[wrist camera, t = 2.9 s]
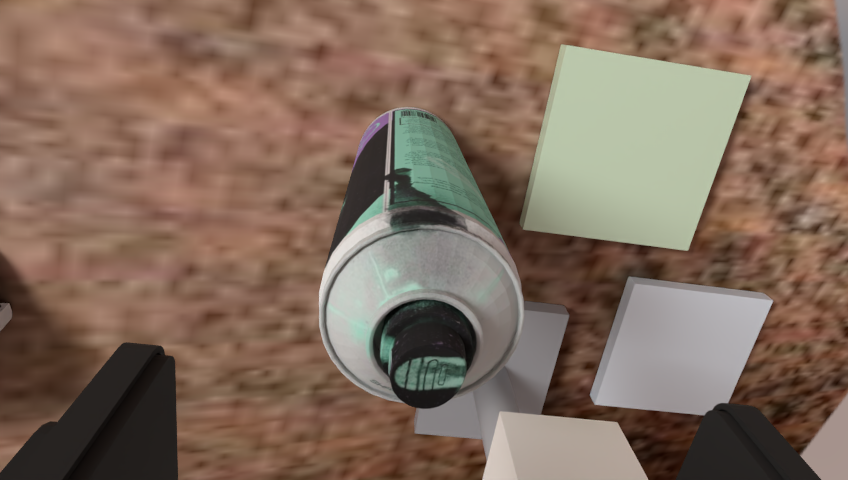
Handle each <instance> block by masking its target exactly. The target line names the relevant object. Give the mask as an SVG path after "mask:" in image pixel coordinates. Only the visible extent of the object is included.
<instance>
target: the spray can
mask: <svg viewBox="0 0 848 480" xmlns="http://www.w3.org/2000/svg"><path fill="white" fill-rule="evenodd" d="M524 316H525V314H524V299H523V295H522V291H521V282H520V278H519V275H518V272H517V268H516V265H515V263H514V261H513V259H512V257H511V255H510V253H509V251H508V249H507V246H506V244H505V242H504V240H503V238H502V236H501V234H500V232H499V230H498V228H497V226H496V224H495V221H494V219H493V217H492V215H491V213H490V211H489V209H488V207H487V205H486V203H485V201H484V198H483V196H482V194H481V192H480V190H479V188H478V186H477V184H476V182H475V180H474V178H473V175H472V173H471V171H470V169H469V167H468V165H467V163H466V161H465V159H464V157H463V155H462V152H461V150H460V148H459V146H458V144H457V142H456V140H455V138H454V136H453V134H452V132H451V131H450V129H449V128H448V127H447V125H446V124H445V123H444V122H443V121H442V120H441V119H440V118H438V117H437V116H436V115H434V114H432V113H430V112H428V111H426V110H423V109H419V108H415V107H402V108H396V109H393V110H390V111H387V112H385V113H384V114H382V115H380V116H379V117H378V118H376V119H375V120H374V121H373V122H372V123H371V124H370V126H369V127H368V128H367V130H366V131H365V133H364V135H363V137H362V139H361V141H360V145H359V148H358V152H357V156H356V159H355V163H354V166H353V170H352V173H351V177H350V181H349V184H348V188H347V191H346V195H345V198H344V202H343V206H342V209H341V213H340V216H339V220H338V223H337V227H336V231H335V234H334V238H333V241H332V245H331V248H330V252H329V256H328V259H327V263H326V266H325V270H324V273H323V278H322V282H321V287H320V291H319V327H320V331H321V335H322V340H323V344H324V346H325V348H326V350H327V352H328V354H329V356H330V358H331V360H332V361H333V362H334V364H335V365H336V366H337V367H338V369H339V370H340V371H341V373H342V374H344V375H345V376H346V377H347V378H348V379H349V380H351V381H352V382H353V383H354V384H355V385H357V386H358V387H360V388H362V389H364V390H365V391H367V392H369V393H371V394H373V395H376V396H378V397H381V398H384V399H387V400H390V401H395V402H401V403H406V404H408V405H410V406H412V407H415V408H420V409H431V408H435V407H439V406H441V405H443V404H445V403H446V402H448V401H449V400H451V399H454V398H458V397H461V396H463V395H465V394H467V393H469V392H471V391H474V390H476V389H478V388H479V387H481V386H482V385H483V384H485V383H486V382H488V381H489V380H490V379H492V378H493V377H494V376H495V375H496V374H497V373H498V372H499V371H500V370H501V369H502V368H503V367H504V366H505V365H506V363H507V362H508V360H509V359H510V357H511V356H512V354H513V352H514V351H515V349H516V347H517V344H518V342H519V339H520V337H521V334H522V329H523V323H524Z"/></svg>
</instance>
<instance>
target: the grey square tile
mask: <svg viewBox="0 0 848 480" xmlns="http://www.w3.org/2000/svg"><path fill="white" fill-rule="evenodd" d="M772 303H773V300H772V299H771V298H769V297H768V296H767V295H765V294H764V293H760V292H752V291H744V290H736V289H727V288H719V287H711V286H703V285H695V284H687V283H679V282H670V281H662V280H654V279H646V278H638V277H630V276H628V279H627V282H626V285H625V288H624V291H623V295H622V298H621V301H620V304H619V307H618V310H617V313H616V316H615V319H614V322H613V325H612V328H611V331H610V334H609V338H608V341H607V344H606V347H605V350H604V353H603V356H602V359H601V362H600V365H599V368H598V371H597V374H596V377H595V381H594V384H593V387H592V390H591V393H590V396H591V398H592V400H593V402H594V404H595V405H603V406H614V407H624V408H634V409H644V410H655V411H665V412H675V413H686V414H696V415H705V414H706V412H708V411H709V410H712V409H713V408H714V406H716V405H717V404H719V403H728V402H729V400H730V397H731V395H732V393H733V391H734V388H735V386H736V384H737V382H738V379H739V377H740V375H741V373H742V370H743V368H744V366H745V364H746V361H747V359H748V357H749V355H750V352H751V350H752V348H753V346H754V343H755V341H756V339H757V336H758V334H759V332H760V330H761V327H762V325H763V323H764V321H765V318H766V316H767V314H768V312H769V309H770V307H771V305H772Z"/></svg>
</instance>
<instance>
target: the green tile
mask: <svg viewBox="0 0 848 480" xmlns="http://www.w3.org/2000/svg"><path fill="white" fill-rule="evenodd" d="M750 79H751V76H749V75H744V74H738V73H732V72H726V71H720V70H714V69H708V68H702V67H696V66H689V65H683V64H677V63H671V62H665V61H659V60H653V59H647V58H641V57H635V56H629V55H623V54H617V53H611V52H605V51H599V50H593V49H587V48H581V47H575V46H569V45H563V44H561V47H560V51H559V55H558V60H557V64H556V68H555V73H554V77H553V81H552V85H551V90H550V94H549V98H548V103H547V107H546V111H545V115H544V120H543V124H542V128H541V132H540V137H539V141H538V145H537V150H536V154H535V158H534V162H533V167H532V171H531V175H530V180H529V184H528V188H527V192H526V197H525V201H524V205H523V210H522V214H521V218H520V222H519V224H520V225H521V227H522V229H523V230H531V231H539V232H546V233H554V234H562V235H570V236H577V237H585V238H593V239H600V240H608V241H616V242H624V243H631V244H639V245H647V246H654V247H662V248H670V249H678V250H685V251H688V249H689V246H690V244H691V241H692V238H693V235H694V233H695V230H696V227H697V224H698V222H699V219H700V216H701V213H702V211H703V208H704V205H705V202H706V200H707V197H708V194H709V191H710V189H711V186H712V183H713V180H714V178H715V175H716V172H717V169H718V167H719V164H720V161H721V158H722V156H723V153H724V150H725V147H726V145H727V142H728V139H729V136H730V134H731V131H732V128H733V125H734V123H735V120H736V117H737V114H738V112H739V109H740V106H741V103H742V101H743V98H744V95H745V92H746V90H747V87H748V84H749V81H750Z"/></svg>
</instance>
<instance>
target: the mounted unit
mask: <svg viewBox="0 0 848 480" xmlns="http://www.w3.org/2000/svg"><path fill="white" fill-rule="evenodd" d="M524 314H525V316H524V323H523V329H522V334H521V337H520V339H519V342H518V344H517V347H516V349H515V351H514V352H513V354H512V356H511V357H510V359H509V360H508V362H507V363H506V365H505V366H504V367H503V368H502V369H501V370H500V371H499V372H498V373H497V374H496V375H495V376H494V377H493V378H492V379H490V380H489V381H488V382H486V383H485V384H483V385H482V386H481V387H479V388H478V389H476V390H474V391H471V392H469V393H467V394H465V395H463V396H461V397H458V398H454V399H451V400H449V401H448V402H446V403H445V404H443V405H441V406H439V407H435V408H431V409H420V408H417V409H416V414H415V420H414V426H415V433H418V434H429V435H440V436H451V437H463V438H474V439H482V440H483V445H484V450H485V454H486V459H487V464H486V468H485V471H484V475H483V479H482V480H648V478H647V476H646V474H645V472H644V471H643V469H642V467H641V465H640V463H639V461H638V460H637V458H636V456H635V454H634V452H633V450H632V449H631V447H630V445H629V443H628V441H627V439H626V438H625V436H624V434H623V432H622V430H621V428H620V426H619V425H618V423H617V422H610V421H599V420H588V419H578V418H567V417H556V416H546V415H541V412H542V408H543V405H544V401H545V398H546V394H547V391H548V387H549V384H550V381H551V377H552V374H553V370H554V367H555V363H556V360H557V356H558V353H559V350H560V346H561V343H562V339H563V336H564V332H565V329H566V325H567V322H568V318H569V313H568V312H567V310H566V308H565V307H564V305H556V304H547V303H539V302H530V301H524Z"/></svg>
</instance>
